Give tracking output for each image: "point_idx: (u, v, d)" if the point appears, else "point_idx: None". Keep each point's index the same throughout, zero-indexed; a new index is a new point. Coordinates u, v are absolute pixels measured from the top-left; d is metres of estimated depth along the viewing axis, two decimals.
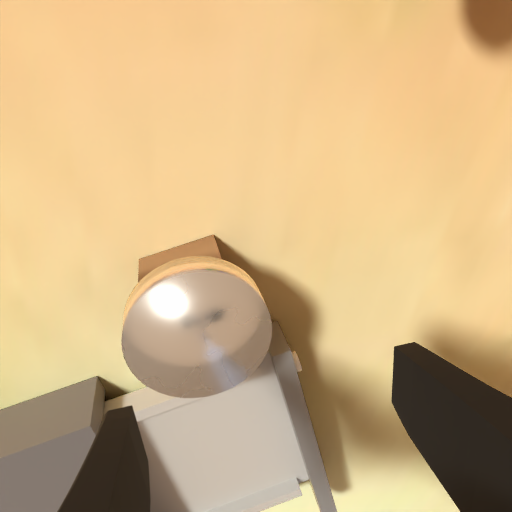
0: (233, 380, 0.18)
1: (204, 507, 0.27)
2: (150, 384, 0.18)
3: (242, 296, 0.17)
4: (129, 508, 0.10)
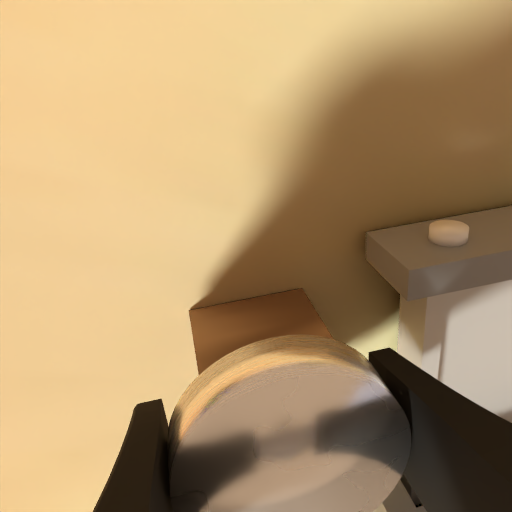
0: (397, 428, 0.10)
1: None
2: None
3: (234, 421, 0.09)
4: (164, 499, 0.10)
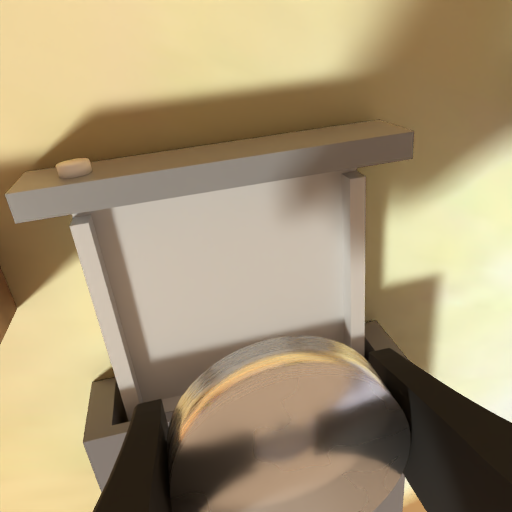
0: (396, 428, 0.10)
1: (336, 304, 0.19)
2: None
3: (234, 422, 0.09)
4: (164, 499, 0.10)
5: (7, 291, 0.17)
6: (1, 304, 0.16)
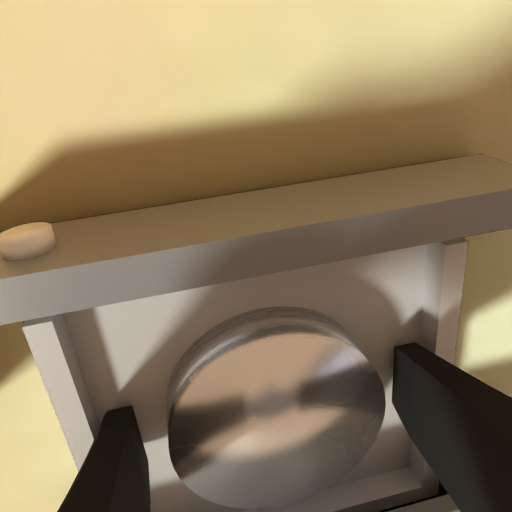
0: (372, 390, 0.12)
1: None
2: (330, 482, 0.13)
3: (225, 379, 0.10)
4: (129, 508, 0.10)
5: None
6: None
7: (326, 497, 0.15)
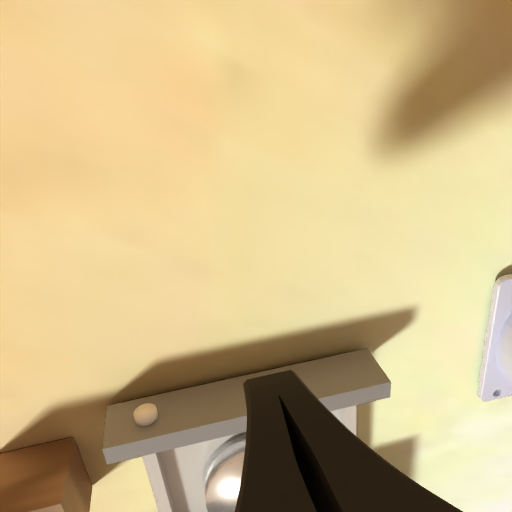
0: None
1: None
2: None
3: (234, 470, 0.21)
4: None
5: (87, 478, 0.22)
6: (85, 494, 0.22)
7: None
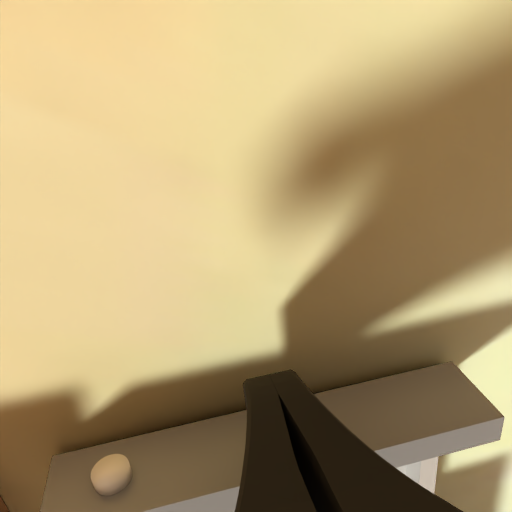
0: None
1: None
2: None
3: None
4: None
5: None
6: None
7: None
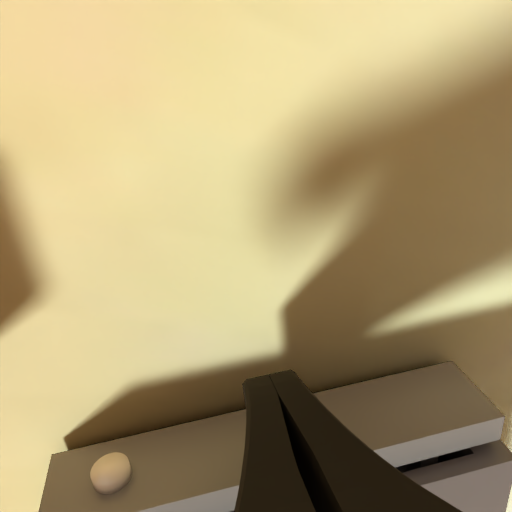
0: None
1: None
2: None
3: None
4: None
5: None
6: None
7: None
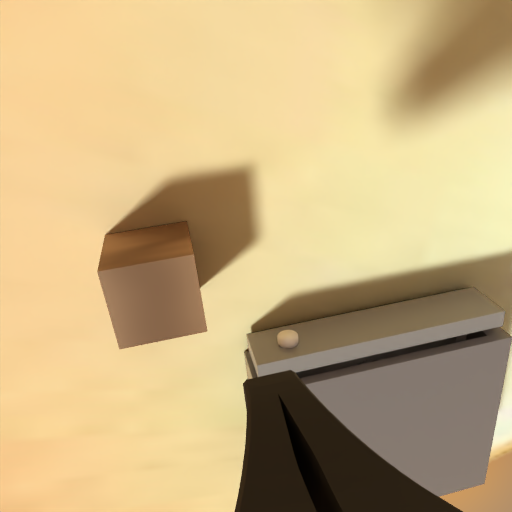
0: None
1: None
2: None
3: None
4: None
5: None
6: None
7: None
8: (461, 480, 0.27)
